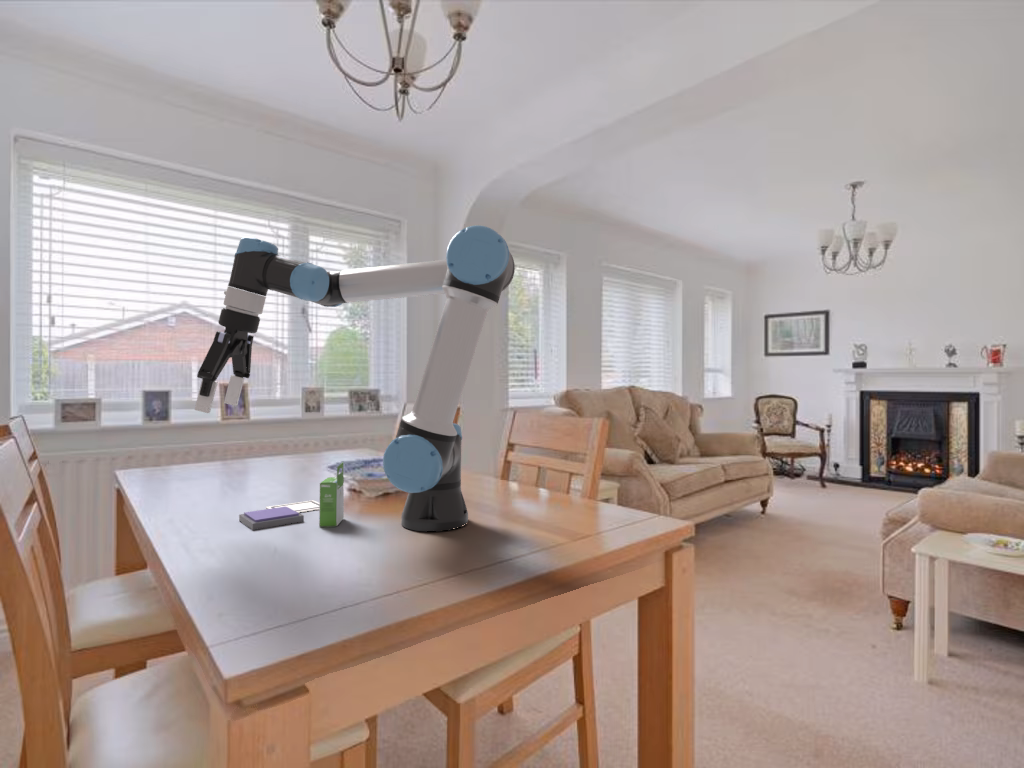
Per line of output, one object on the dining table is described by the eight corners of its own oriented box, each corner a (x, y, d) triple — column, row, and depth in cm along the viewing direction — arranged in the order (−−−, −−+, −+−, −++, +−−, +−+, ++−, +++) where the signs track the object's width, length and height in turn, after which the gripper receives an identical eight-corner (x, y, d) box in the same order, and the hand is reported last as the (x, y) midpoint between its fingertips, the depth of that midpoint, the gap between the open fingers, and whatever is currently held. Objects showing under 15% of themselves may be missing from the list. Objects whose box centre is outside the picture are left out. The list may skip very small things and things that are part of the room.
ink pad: (303, 521, 124) (303, 513, 124) (252, 530, 117) (252, 521, 117) (288, 513, 132) (288, 505, 132) (239, 520, 125) (239, 512, 125)
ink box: (326, 519, 127) (327, 461, 127) (344, 518, 127) (344, 461, 127) (318, 527, 120) (319, 466, 120) (337, 527, 120) (337, 466, 120)
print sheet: (328, 508, 137) (328, 506, 137) (279, 516, 129) (279, 514, 129) (313, 501, 145) (313, 499, 145) (265, 508, 137) (266, 506, 137)
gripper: (246, 310, 127) (224, 397, 128) (195, 301, 102) (167, 409, 103) (279, 319, 128) (256, 406, 128) (235, 312, 103) (208, 419, 104)
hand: (217, 407), depth 116 cm, fingers open, 13 cm apart
